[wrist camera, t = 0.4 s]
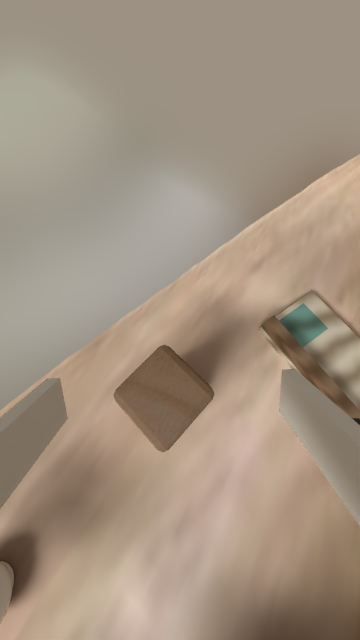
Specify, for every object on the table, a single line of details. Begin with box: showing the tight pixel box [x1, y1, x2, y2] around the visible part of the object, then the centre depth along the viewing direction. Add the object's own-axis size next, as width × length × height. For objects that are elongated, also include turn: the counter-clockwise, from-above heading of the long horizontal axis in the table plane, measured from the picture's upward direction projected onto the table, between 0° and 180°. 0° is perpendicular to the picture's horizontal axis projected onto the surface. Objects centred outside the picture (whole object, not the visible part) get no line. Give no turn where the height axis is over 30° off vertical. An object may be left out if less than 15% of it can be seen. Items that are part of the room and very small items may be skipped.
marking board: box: [258, 291, 360, 419], centre depth 45 cm, size 26×16×6 cm, turn 34°
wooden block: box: [114, 345, 214, 452], centre depth 37 cm, size 10×10×20 cm
